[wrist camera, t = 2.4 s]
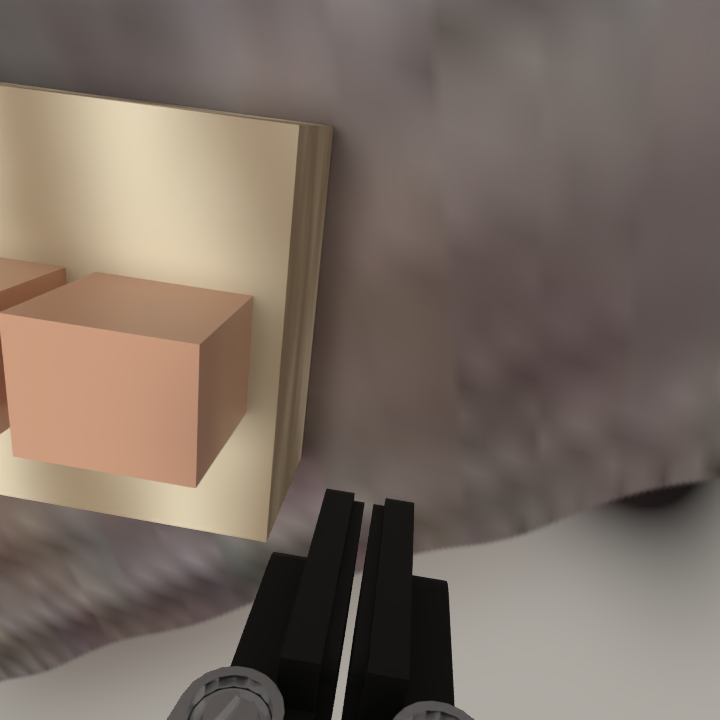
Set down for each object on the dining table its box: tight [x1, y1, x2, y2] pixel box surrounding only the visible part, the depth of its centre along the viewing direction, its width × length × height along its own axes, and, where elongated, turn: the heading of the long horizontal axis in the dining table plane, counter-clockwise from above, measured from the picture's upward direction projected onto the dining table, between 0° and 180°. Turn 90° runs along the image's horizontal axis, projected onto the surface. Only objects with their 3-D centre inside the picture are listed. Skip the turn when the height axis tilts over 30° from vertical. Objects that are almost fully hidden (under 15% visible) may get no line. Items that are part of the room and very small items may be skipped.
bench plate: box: [0, 82, 334, 542], centre depth 22 cm, size 14×14×6 cm
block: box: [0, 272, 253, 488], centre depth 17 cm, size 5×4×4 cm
